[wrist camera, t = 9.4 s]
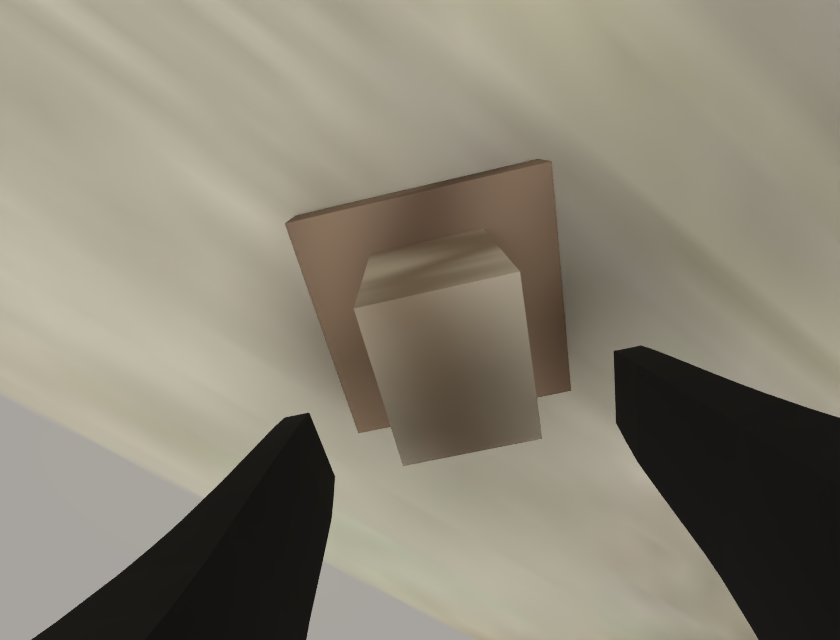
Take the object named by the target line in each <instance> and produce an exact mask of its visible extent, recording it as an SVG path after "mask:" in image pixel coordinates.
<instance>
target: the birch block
mask: <svg viewBox="0 0 840 640" xmlns="http://www.w3.org/2000/svg"><path fill="white" fill-rule="evenodd" d="M354 311H355V314H356V318H357V321H358V324H359V327H360V330H361V333H362V337H363V340H364V343H365V346H366V349H367V352H368V356H369V359H370V362H371V365H372V368H373V371H374V375H375V378H376V381H377V384H378V387H379V391H380V394H381V397H382V400H383V403H384V406H385V410H386V413H387V416H388V419H389V422H390V425H391V429H392V432H393V435H394V438H395V441H396V444H397V448H398V451H399V454H400V457H401V460H402V464H403V466H406V465H411V464H416V463H421V462H426V461H431V460H436V459H441V458H446V457H451V456H456V455H461V454H466V453H471V452H476V451H481V450H486V449H491V448H496V447H502V446H507V445H512V444H517V443H522V442H527V441H532V440H537V439H542V435H541V427H540V419H539V412H538V404H537V397H536V389H535V381H534V374H533V366H532V359H531V351H530V344H529V336H528V328H527V321H526V313H525V306H524V298H523V291H522V283H521V275H520V271H519V270H518V269H517V267H516V266H515V265H514V264H513V263H512V261H511V260H510V259H509V258H508V257H507V256H506V254H505V253H504V252H503V251H502V250H501V249H500V247H499V246H498V245H497V244H496V243H495V241H494V240H493V239H492V238H491V237H490V236H489V234H488V233H487V232H486V231H485V230H484V228H481V229H477V230H473V231H468V232H464V233H460V234H455V235H451V236H447V237H442V238H438V239H434V240H429V241H425V242H421V243H416V244H412V245H408V246H403V247H399V248H395V249H390V250H386V251H382V252H377V253H373V254H370V256H369V259H368V263H367V266H366V269H365V273H364V276H363V279H362V283H361V286H360V289H359V293H358V296H357V299H356V303H355V306H354Z"/></svg>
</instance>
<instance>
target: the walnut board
mask: <svg viewBox="0 0 840 640" xmlns="http://www.w3.org/2000/svg"><path fill="white" fill-rule="evenodd" d="M285 225H286V228H287V231H288V234H289V237H290V240H291V242H292V245H293V248H294V251H295V254H296V257H297V260H298V262H299V265H300V268H301V271H302V274H303V277H304V280H305V282H306V285H307V288H308V291H309V294H310V297H311V299H312V302H313V305H314V308H315V311H316V314H317V317H318V319H319V322H320V325H321V328H322V331H323V334H324V336H325V339H326V342H327V345H328V348H329V351H330V354H331V356H332V359H333V362H334V365H335V368H336V371H337V374H338V376H339V379H340V382H341V385H342V388H343V391H344V393H345V396H346V399H347V402H348V405H349V408H350V411H351V413H352V416H353V419H354V422H355V425H356V428H357V431H358V433H361V432H366V431H371V430H376V429H381V428H386V427H391V425H390V422H389V419H388V416H387V413H386V410H385V406H384V403H383V400H382V397H381V394H380V391H379V387H378V384H377V381H376V378H375V375H374V371H373V368H372V365H371V362H370V359H369V356H368V352H367V349H366V346H365V343H364V340H363V337H362V333H361V330H360V327H359V324H358V321H357V318H356V314H355V311H354V306H355V303H356V299H357V296H358V293H359V289H360V286H361V283H362V279H363V276H364V273H365V269H366V266H367V263H368V259H369V256H370V254H373V253H377V252H382V251H386V250H390V249H395V248H399V247H403V246H408V245H412V244H416V243H421V242H425V241H429V240H434V239H438V238H442V237H447V236H451V235H455V234H460V233H464V232H468V231H473V230H477V229H481V228H484V230H485V231H486V232H487V233H488V234H489V236H490V237H491V238H492V239H493V240H494V241H495V243H496V244H497V245H498V246H499V247H500V249H501V250H502V251H503V252H504V253H505V254H506V256H507V257H508V258H509V259H510V260H511V261H512V263H513V264H514V265H515V266H516V267H517V269H518V270H519V271H520V275H521V283H522V291H523V298H524V306H525V313H526V321H527V328H528V336H529V344H530V351H531V359H532V366H533V374H534V381H535V389H536V397H541V396H546V395H551V394H556V393H561V392H566V391H571V385H570V373H569V362H568V350H567V338H566V326H565V314H564V302H563V291H562V279H561V267H560V255H559V243H558V231H557V220H556V208H555V196H554V184H553V172H552V161H547V160H541V159H536V160H532V161H528V162H523V163H519V164H515V165H510V166H506V167H502V168H498V169H493V170H489V171H485V172H480V173H476V174H472V175H468V176H463V177H459V178H455V179H450V180H446V181H442V182H438V183H433V184H429V185H425V186H421V187H416V188H412V189H408V190H403V191H399V192H395V193H391V194H386V195H382V196H378V197H373V198H369V199H365V200H361V201H356V202H352V203H348V204H344V205H339V206H335V207H331V208H326V209H322V210H318V211H314V212H309V213H305V214H301V215H296V216H295V217H293V218H292V219H290V220H289V221H288V222H286V223H285Z"/></svg>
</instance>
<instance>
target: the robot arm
mask: <svg viewBox="0 0 840 640" xmlns="http://www.w3.org/2000/svg"><path fill="white" fill-rule="evenodd" d="M614 372H615V403H616V424H617V425H618V427H619V429H620V431H621V433H622V435H623V437H624V439H625V440H626V442H627V444H628V446H629V448H630V449H631V451H632V453H633V455H634V456H635V458H636V460H637V462H638V463H639V464H640V466H641V467H642V469H643V470H644V472H645V473H646V474H647V476H648V477H649V478H650V480H651V481H652V483H653V484H654V485H655V487H656V488H657V489H658V491H659V492H660V494H661V495H662V496H663V498H664V499H665V500H666V502H667V503H668V504H669V506H670V507H671V508H672V510H673V511H674V513H675V514H676V515H677V517H678V518H679V519H680V521H681V522H682V523H683V525H684V526H685V527H686V529H687V530H688V532H689V533H690V534H691V536H692V537H693V538H694V540H695V541H696V542H697V544H698V545H699V547H700V548H701V549H702V551H703V552H704V553H705V555H706V556H707V558H708V559H709V561H710V562H711V564H712V565H713V566H714V568H715V569H716V571H717V572H718V574H719V575H720V577H721V578H722V580H723V582H724V583H725V585H726V586H727V588H728V590H729V591H730V593H731V595H732V596H733V598H734V600H735V601H736V603H737V605H738V606H739V608H740V609H741V611H742V613H743V614H744V616H745V618H746V619H747V621H748V623H749V624H750V626H751V628H752V629H753V631H754V633H755V634H756V636H757V638H758V639H759V640H840V418H838V417H835V416H832V415H829V414H825V413H822V412H819V411H816V410H813V409H810V408H807V407H804V406H801V405H798V404H795V403H792V402H789V401H786V400H783V399H780V398H777V397H775V396H772V395H769V394H766V393H763V392H760V391H758V390H755V389H752V388H750V387H747V386H744V385H742V384H739V383H736V382H734V381H731V380H729V379H726V378H723V377H721V376H718V375H716V374H713V373H711V372H708V371H706V370H703V369H701V368H698V367H696V366H693V365H691V364H688V363H686V362H683V361H681V360H679V359H676V358H674V357H671V356H668V355H666V354H663V353H661V352H658V351H655V350H653V349H650V348H647V347H644V346H637V347H632V348H627V349H622V350H617V351H614ZM334 483H335V476H334V473H333V471H332V468H331V466H330V463H329V461H328V458H327V456H326V453H325V451H324V448H323V446H322V443H321V441H320V438H319V436H318V433H317V431H316V428H315V426H314V423H313V421H312V418H311V416H310V414H309V413H305V414H300V415H295V416H290V417H285V418H284V419H283V420H282V421H280V422H279V423H278V424H277V425H276V426H275V427H274V428H273V429H272V430H271V431H270V432H269V433H268V434H267V435H266V436H265V437H264V438H263V439H262V440H261V441H260V442H259V443H258V445H257V446H256V447H255V448H254V449H253V450H252V451H251V452H250V453H249V454H248V455H247V456H246V457H245V458H244V459H243V460H242V461H241V462H240V463H239V464H238V465H237V466H236V467H235V468H234V469H233V470H232V472H231V473H230V474H229V475H228V476H227V477H226V478H225V479H224V480H223V481H222V482H221V483H220V484H219V485H218V486H217V487H216V488H215V489H214V490H213V491H212V492H211V493H209V494H208V495H207V496H206V497H205V498H204V499H203V500H202V501H201V502H200V503H199V504H198V505H197V506H196V507H195V508H194V509H193V510H192V511H191V512H190V513H189V514H188V515H187V516H186V517H185V518H184V519H183V520H182V521H180V522H179V523H178V524H177V525H176V526H175V527H174V528H173V529H172V530H171V531H170V532H168V533H167V534H166V535H165V536H164V537H163V538H162V539H160V540H159V541H158V542H157V543H156V544H155V545H154V546H152V547H151V548H150V549H149V550H148V551H146V552H145V553H144V554H143V555H142V556H140V557H139V558H138V559H137V560H136V561H134V562H133V563H132V564H131V565H130V566H128V567H127V568H126V569H125V570H124V571H123V572H121V573H120V574H119V575H117V576H116V577H115V578H114V579H112V580H111V581H110V582H108V583H107V584H106V585H104V586H103V587H102V588H101V589H99V590H98V591H96V592H95V593H94V594H92V595H91V596H90V597H89V598H87V599H86V600H85V601H83V602H82V603H81V604H79V605H78V606H77V607H75V608H74V609H73V610H71V611H70V612H69V613H68V614H66V615H65V616H64V617H62V618H61V619H60V620H58V621H57V622H56V623H54V624H53V625H52V626H50V627H49V628H47V629H46V630H45V631H43V632H42V633H40V634H39V635H37V636H36V637H35V638H33V639H32V640H306V638H307V632H308V627H309V621H310V617H311V612H312V607H313V603H314V598H315V593H316V589H317V584H318V579H319V575H320V570H321V566H322V561H323V557H324V552H325V547H326V543H327V538H328V533H329V528H330V523H331V518H332V508H333V497H334Z"/></svg>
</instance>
